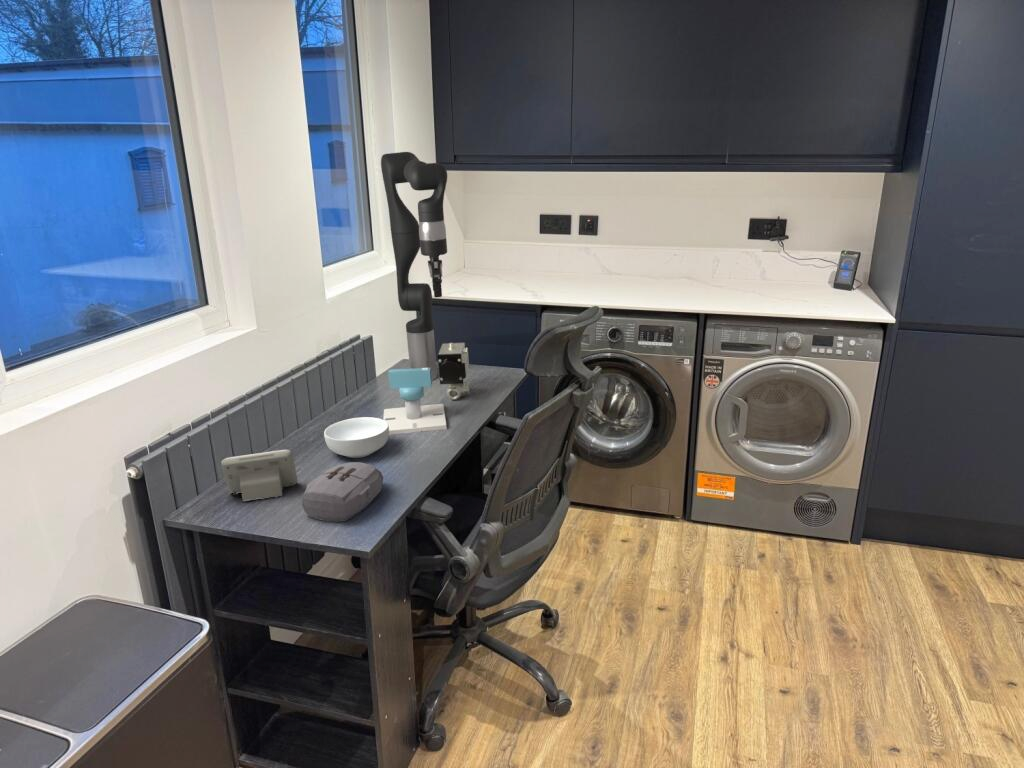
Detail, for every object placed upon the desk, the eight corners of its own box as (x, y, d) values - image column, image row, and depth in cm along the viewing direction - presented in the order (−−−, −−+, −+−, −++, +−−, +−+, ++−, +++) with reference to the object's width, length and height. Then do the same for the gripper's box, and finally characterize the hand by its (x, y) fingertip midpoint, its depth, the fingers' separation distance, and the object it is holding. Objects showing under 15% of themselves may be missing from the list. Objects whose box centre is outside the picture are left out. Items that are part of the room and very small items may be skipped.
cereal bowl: (401, 441, 197) (398, 417, 194) (374, 467, 182) (371, 442, 179) (345, 437, 201) (342, 414, 199) (315, 462, 186) (311, 437, 184)
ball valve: (468, 405, 221) (464, 350, 215) (440, 406, 221) (436, 351, 215) (472, 386, 238) (468, 335, 232) (447, 387, 238) (443, 336, 232)
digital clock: (301, 482, 176) (295, 442, 172) (293, 499, 167) (286, 458, 164) (234, 486, 175) (227, 447, 172) (222, 504, 166) (214, 463, 163)
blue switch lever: (389, 400, 205) (386, 373, 202) (393, 392, 212) (390, 366, 209) (431, 399, 205) (428, 371, 202) (433, 391, 212) (431, 364, 209)
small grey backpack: (353, 527, 154) (396, 485, 172) (348, 492, 151) (393, 454, 169) (294, 518, 159) (342, 479, 176) (288, 484, 156) (338, 448, 174)
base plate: (384, 412, 218) (381, 389, 216) (443, 407, 220) (441, 384, 218) (382, 435, 201) (380, 410, 199) (446, 429, 204) (444, 404, 201)
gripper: (419, 235, 207) (423, 290, 212) (420, 241, 194) (425, 300, 199) (444, 233, 208) (449, 288, 213) (447, 239, 195) (452, 298, 200)
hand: (437, 294), depth 206 cm, fingers open, 8 cm apart
